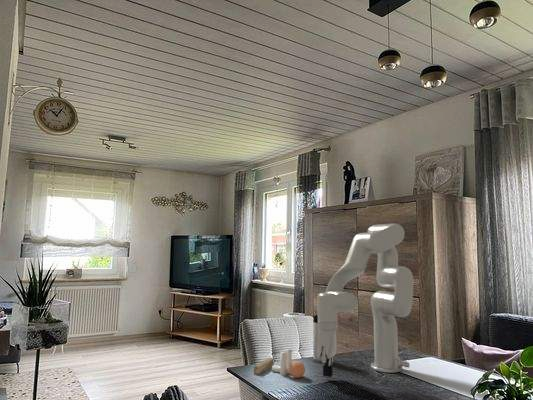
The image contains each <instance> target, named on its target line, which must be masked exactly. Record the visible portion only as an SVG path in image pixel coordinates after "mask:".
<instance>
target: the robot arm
mask: <svg viewBox="0 0 533 400" xmlns="http://www.w3.org/2000/svg"><path fill="white" fill-rule="evenodd" d="M404 238H405V230H404V227H403V226H402V225H400V224H399V223H382V224H380V223H379V224H373V225H370V226H369V227H368V229H367V232H360V233H357V234H355V235H354V236H353V239H352V240H351V244H350V246H349V251H348V254H347V255H346V257H345V258H346V259H345V261H344V264H343V265H342V266H341V267H340V268H339V269H338V270H337V271H336V272H335V273H334V274H333V276H332V277H331V278H330V279H329V282H328V285H327V287H326V290H325V292H320V293H318V295H317V315H318V330H319V332H318V344H317V357H318V358H320V357H321V356H322V371H323V372H322V373H323V374H322V375H323V377H328V378H331V377H332V376H333V374H334V372H333V368H334V367H333V364H334V363H333V362H334V361H333V359H334V356H335V355H336V354H337V333H336V332H337V331H339V330H338V312H343V313H351V312H353V311H354V310H355V309H356V308H357V306H358V299H357V297H356V295H354V294H353V293H351V292H347V291H343V289H344V287H345V286H346V285H347V284H348V283H349V282H350V281H352V280H353V279H355V278H357V277H360V276H361V275H363V274H364V273H365V271H366V267H367V265H368V261H369V258H370V256H371V254H377V262H376V263H377V265H376V283H377V285H378V286H380V287H382V288H388V289H394V291H390V290H388V291H387V290H378V291H375V292H374V293H373V294H372V295H371V297H370V307H371V312H372V319H373V346H374V347H373V348H374V349H373V351H374V353H373V354H374V357H373V358H374V362H371V363H370V368H371V369H372V370H374V371H377V372H381V373H391V374H392V373H400V372H402V371H403V367H404V368H410V366H411V365H410V362H408V361H407V360H402V359H400V358H401V357H400V356H399V348H398V347H399V345H398V343H399V341H398V324H397V323H398V322H397V320H396V318H395V317H399V318H406V317H407V316H409V314H410V313H411V311H412V309H413V308H412V307H413V298H414V297H413V296H414V285H415V283H414V275H413V273H412V271H411V269H410V268H408V267H406V266H404V265H403V266H402V265H399V253H398V250H397V248H396V247H395V246H397V245H399V244H401V242H402V241H403V240H404Z"/></svg>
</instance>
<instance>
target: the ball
mask: <svg viewBox="0 0 533 400" xmlns="http://www.w3.org/2000/svg"><path fill="white" fill-rule="evenodd" d="M290 373H291V374H290V375H291V376H292V377H293V378H295V379H300V378H301V377H303V376H304V375H305V373H306V366H305V364H304V363H303V362H301V361H299V360H296V361H293V362H292V364H291V365H290Z"/></svg>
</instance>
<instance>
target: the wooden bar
mask: <svg viewBox="0 0 533 400" xmlns="http://www.w3.org/2000/svg"><path fill="white" fill-rule="evenodd" d="M273 365H275V359H274V357H268V358H266V359H265V360H262V361H261V362H259V363H257V364H255V365H254V366H253V375H258V376H259V375H261V374H262V373H263V372H265V371H267V370H269V369H270V368H271V369H272V366H273Z"/></svg>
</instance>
